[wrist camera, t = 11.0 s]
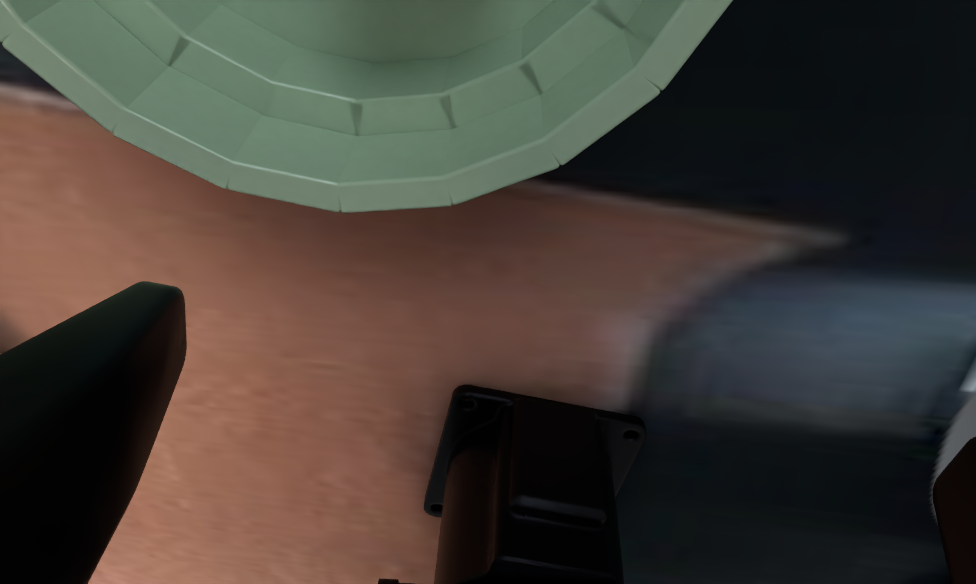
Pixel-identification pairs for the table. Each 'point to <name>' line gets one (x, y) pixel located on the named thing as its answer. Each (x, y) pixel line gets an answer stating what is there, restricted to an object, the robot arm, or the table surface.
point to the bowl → (359, 86)
